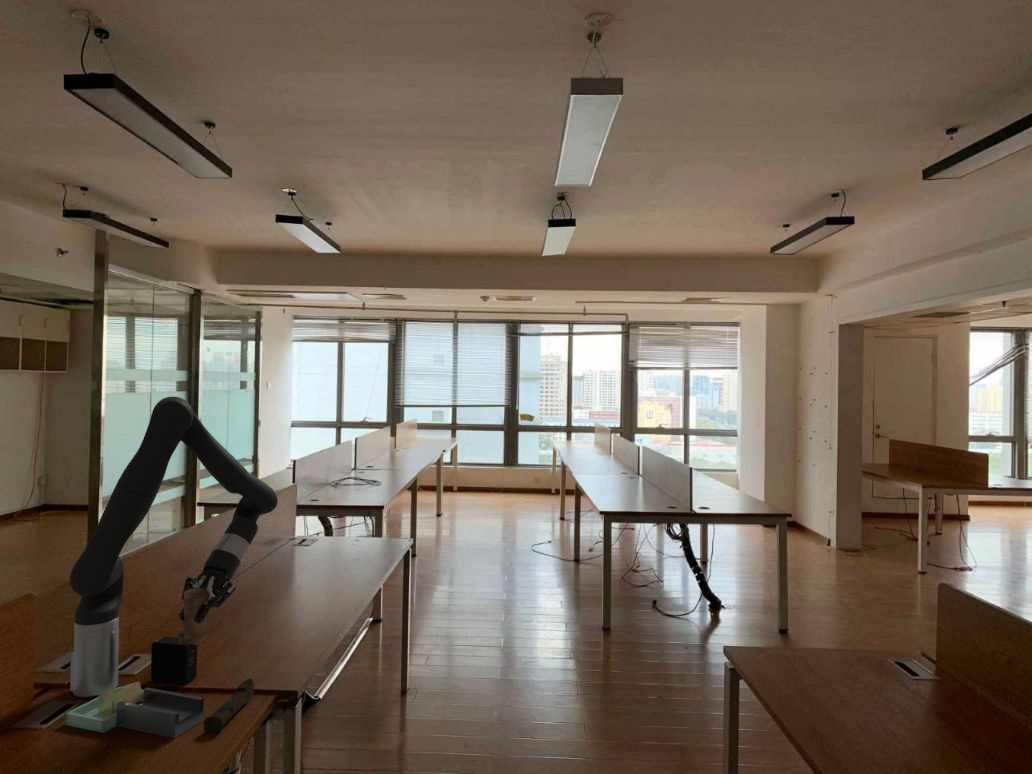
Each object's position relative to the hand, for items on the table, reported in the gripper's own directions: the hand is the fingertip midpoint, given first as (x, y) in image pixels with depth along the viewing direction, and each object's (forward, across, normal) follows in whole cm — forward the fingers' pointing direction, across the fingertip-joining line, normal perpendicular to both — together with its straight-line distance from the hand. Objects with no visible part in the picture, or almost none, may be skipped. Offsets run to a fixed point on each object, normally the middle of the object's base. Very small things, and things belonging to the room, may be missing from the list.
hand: (189, 620), depth 151 cm
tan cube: (+18, -12, +6) cm, 22 cm away
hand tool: (+14, +11, +15) cm, 23 cm away
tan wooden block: (+3, 0, +5) cm, 6 cm away
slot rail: (+20, 0, +8) cm, 22 cm away
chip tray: (+20, -14, +8) cm, 25 cm away
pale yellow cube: (+18, -9, +6) cm, 21 cm away
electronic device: (+7, -14, +21) cm, 27 cm away
